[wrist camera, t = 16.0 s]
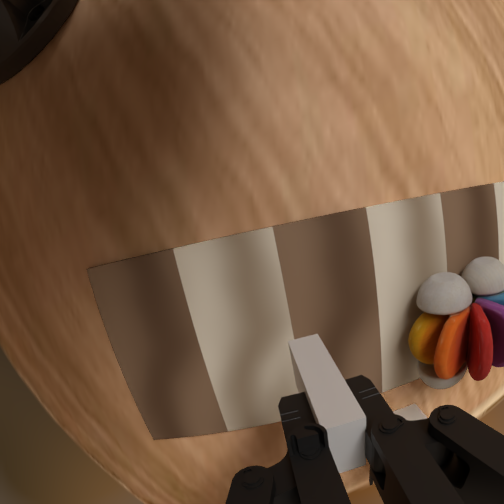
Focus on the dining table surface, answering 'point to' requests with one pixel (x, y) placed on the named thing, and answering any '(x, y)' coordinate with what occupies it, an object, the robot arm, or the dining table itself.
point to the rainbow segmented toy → (460, 324)
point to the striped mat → (284, 305)
